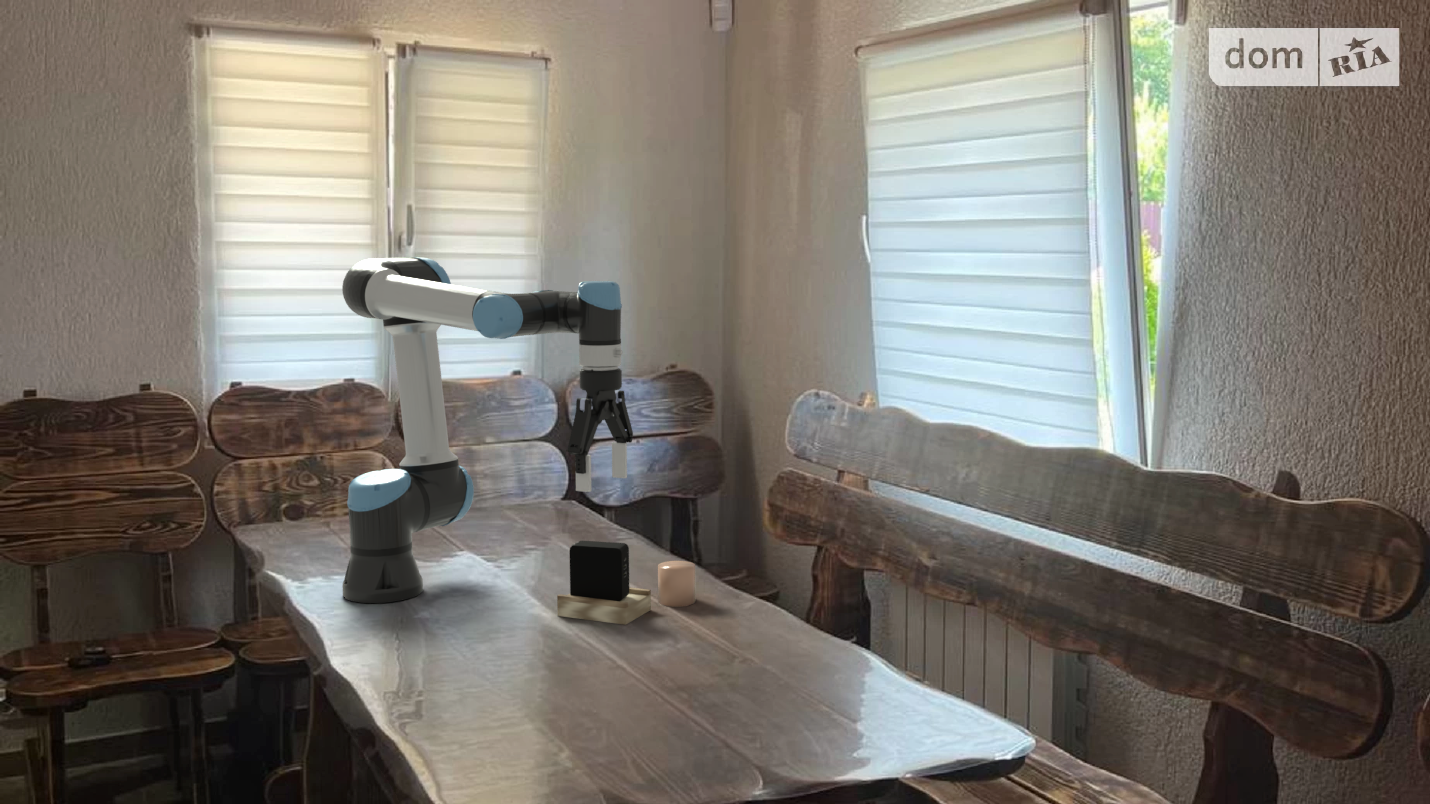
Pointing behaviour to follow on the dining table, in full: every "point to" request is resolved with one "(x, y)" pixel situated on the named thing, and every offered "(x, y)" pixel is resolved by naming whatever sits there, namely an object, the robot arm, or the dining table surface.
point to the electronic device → (599, 570)
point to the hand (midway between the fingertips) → (602, 484)
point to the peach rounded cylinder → (676, 583)
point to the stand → (606, 607)
